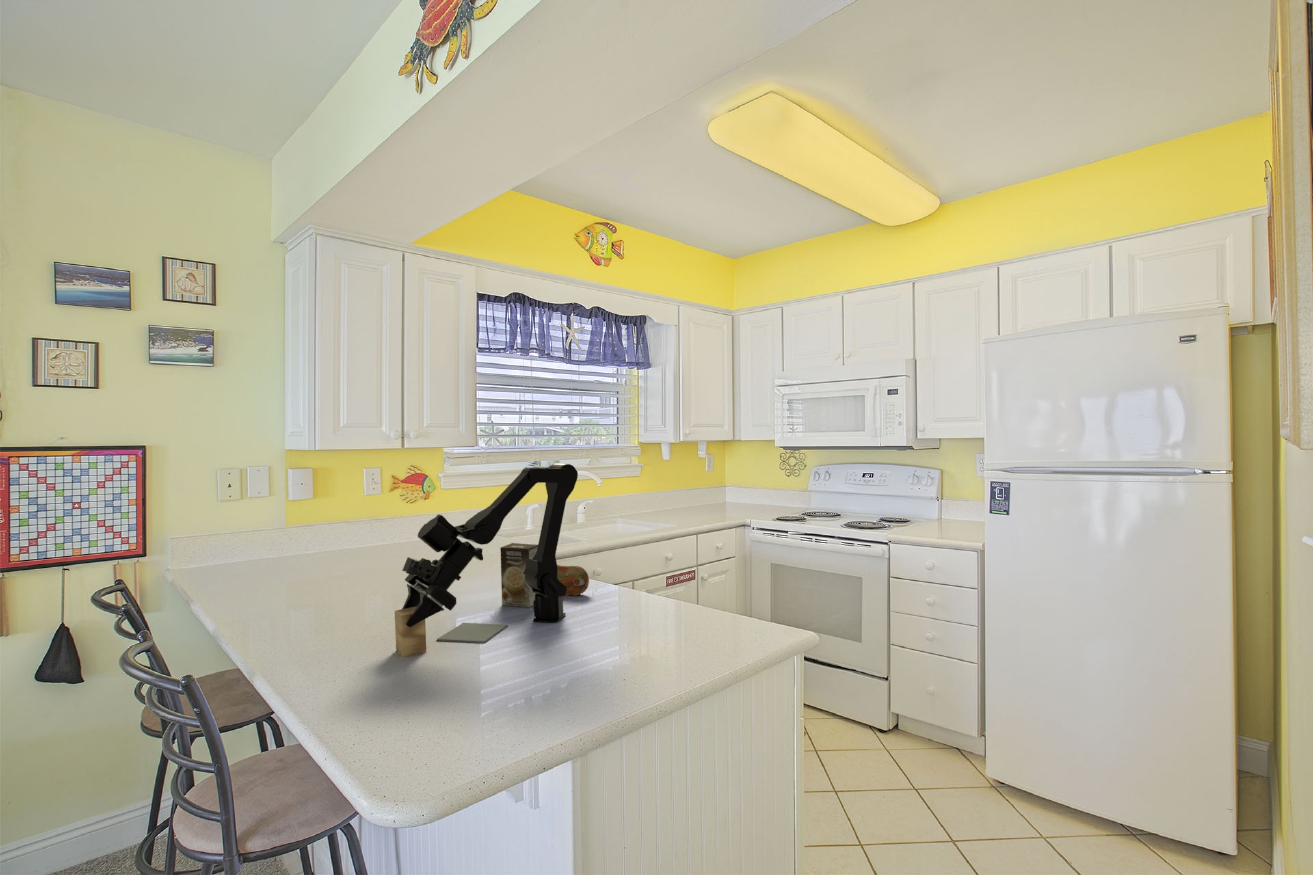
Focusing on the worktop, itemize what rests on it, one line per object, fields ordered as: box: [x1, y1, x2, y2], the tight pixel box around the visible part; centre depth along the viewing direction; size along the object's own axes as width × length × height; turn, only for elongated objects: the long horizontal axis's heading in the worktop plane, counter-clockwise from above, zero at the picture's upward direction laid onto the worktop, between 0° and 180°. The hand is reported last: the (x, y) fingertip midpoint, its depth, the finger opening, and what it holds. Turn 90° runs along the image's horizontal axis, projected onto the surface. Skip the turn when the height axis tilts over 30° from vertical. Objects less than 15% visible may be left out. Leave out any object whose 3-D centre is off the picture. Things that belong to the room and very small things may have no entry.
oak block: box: [394, 606, 427, 658], centre depth 140 cm, size 5×5×9 cm
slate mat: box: [436, 622, 509, 644], centre depth 152 cm, size 12×12×1 cm
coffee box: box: [499, 542, 538, 608], centre depth 176 cm, size 9×6×16 cm
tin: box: [557, 564, 590, 597], centre depth 184 cm, size 15×3×8 cm, turn 68°
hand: (403, 622), depth 139 cm, fingers open, 6 cm apart
